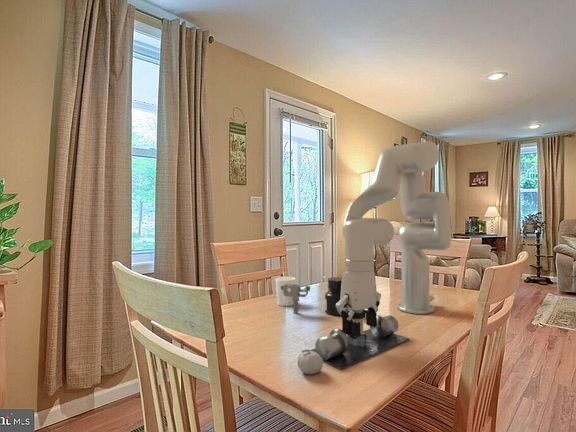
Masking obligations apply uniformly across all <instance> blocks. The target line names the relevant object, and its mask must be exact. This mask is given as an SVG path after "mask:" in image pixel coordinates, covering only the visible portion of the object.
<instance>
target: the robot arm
mask: <svg viewBox="0 0 576 432" xmlns="http://www.w3.org/2000/svg"><path fill="white" fill-rule="evenodd" d="M439 158H440V151H439V147H438V145H437V144H436V143H435V142H434V141H422V142H414V143H405V144H404V143H403V144H399V145H394V146H391V147H387V148H386V149H384V150H383V151H381V152H380V154H379V156H378V159H377V162H376V166H375V168H374V172H373V175H372V179H371V182H370V185H369V187H367V188H366V189H364V190H363V191H362V192H361V193H360V194H359V195H358V196H357V197H356V198H355V199H354V200H353V201H352V202H351V203H350V204H349V206H348V208H347V211H346V214H345V218H344V221H343V224H342V237H343V238H344V265H345V266H344V270H345V271H343V273H342V283H341V296H340V300H339V301H338V302H337V303H336V308H337V311H338V314H339V315H340V317H339V318H340V319H342V321H341V324H342V325H341V327H342V329H341V330H342V331H344V332H345V334H346V335H350V336H352V335H353V320H351V318H352V316H353V314H354V312H356V311H360V310H363V309H364V310H366V311H367V313H366V317H365V324H366V325H367V326H369V327H370V326H372V327H376V326H377V316H378V314H377V313H378V312H379V307H380V303H381V302H380V300H381V298H382V294H381V293H380V292H378V291H377V281H376V273H375V248H374V247H375V246H385V245H387V244H389V243H390V242H391V241H392V240H393V238H394V235H395V229H394V226H393V223H391V221H389V220H388V219H385V218H382V217H381V218H379V217H378V218H377V217H376V218H375V217H374V218H371V217H364V216H365V215H366V214H367V213H368V212H369V211H370V210H372V209H374V208H376V207H379V206H381V205H383V204H385V203H388V202H390V201H392V200H394V199H395V198H397V196H398V194H399V196H400V209H401V213H402V216H403V218H405V219H409V220H432V221H433V222H423V221H422V222H421V221H420V222H419V221H418V222H416V221H415V222H406V223H403V224H402V225H401V226H400V227H399V229H398V240H399V245H400V255H401V302H399V303H397V305H396V306H397V307H396V308H397V309H398V310H399V311H402V312H404V313H408V314H413V315H414V314H415V315H417V314H418V315H427V314H432V313H434V311H435V307H434V306H433V304H431V301H434V300H435V296H434V295H432V294H431V295H430V260H429V257H428V256H427V255H426V252H424V250H429V251H431V250H432V251H445V250H447V249H449V248H450V246H451V243H452V226H451V208H450V201H449V198H448V196H447V194H446V193H444V192H441V191H427V190H426V182H425V180H426V179H425V176H424V175H423V172H426V171H428V170H431V169H433V168H434V167H435V166H437V164H438V162H439ZM350 307H351V308H350ZM347 311H350V312H349V314H347Z"/></svg>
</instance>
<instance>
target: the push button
mask: <svg viewBox="0 0 576 432" xmlns="http://www.w3.org/2000/svg"><path fill="white" fill-rule="evenodd" d="M350 308H351V307H350ZM366 310H367V309H363V310H360V311H356V312H354V314H353V316H352V318H351V320H353V335H352V336H350V335H347V334H346V335H347V337H348V341H349V344H353V345H355V346H356V345H357V346H362V347H363V346H365V345H369V344H368V343H366V341H368V342H371V341H370V340H367V335H366V334H364V332H363V331H364V319H366V313H367V311H366ZM349 312H350V311H347V314H349ZM370 345H372V344H370Z"/></svg>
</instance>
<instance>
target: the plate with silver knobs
mask: <svg viewBox="0 0 576 432" xmlns="http://www.w3.org/2000/svg"><path fill="white" fill-rule="evenodd" d="M398 330H399V322H398V320H397V318H395V316H393V315H386V316H380V315H377V326H376V327H372V326H369V328H367V329H366V330H363V332H364V334H366V335H367V340H370V341H371V342H368V341H366V343H368V344H369V345H365V346H363V347H362V346H357V345H356V346H355V345H353V344H349V341H348V337H347V334H345V332H344V331H342V329H340V328H335V329H332V330H331V331H330V333H329V334H328V335H326V336H323V337H320V338H317V340H316V341H315V344H314V347H315V348H312V349H310V350H309V349H308V350H309V351H314V352H316V353H317V354H319V355H320V357H321V358H322V360H323V363H325V364H327V365H328V366H331V367H334V368H336V369H337V370H340V371H343V370H345V369H347V368H349V367H351V366H354V365H356V364H358V363H361V362H363V361H365V360H368V359H370V358H372V357H375V356H377V355H379V354H381V353H383V352H386V351H388V350H391V349H393V348H394V347H397V346H400V345H402V344H404V343H406V342H409V341H410V337H407V336H403V335H401V334H396V332H398ZM370 344H372V345H370Z"/></svg>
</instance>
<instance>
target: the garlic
mask: <svg viewBox="0 0 576 432" xmlns="http://www.w3.org/2000/svg"><path fill="white" fill-rule="evenodd" d="M323 366H324V362H323V360H322V358H321V357H320V355H319V354H317V353H316V352H314V351H309V349H308V348H305V349H302V350H301V353H300V352H299V354H298V357H297V367H298V369H299V370H300V371H301V372H302V373H303V374H306V375H314V374H317V373H319V372H321V371H322V370H323Z"/></svg>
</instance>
